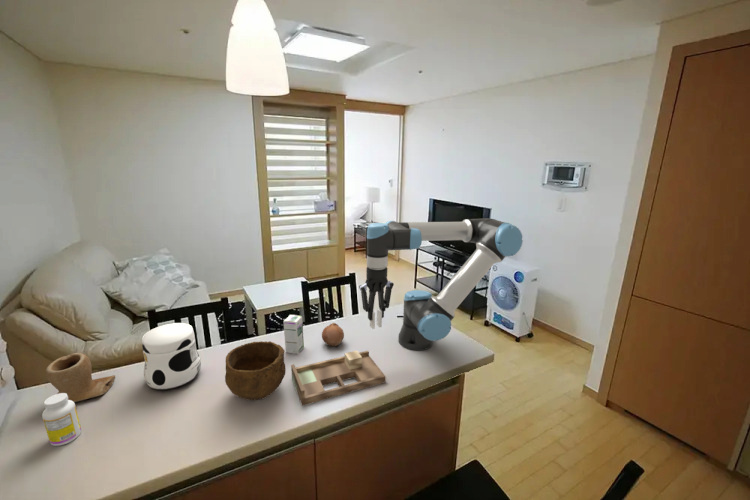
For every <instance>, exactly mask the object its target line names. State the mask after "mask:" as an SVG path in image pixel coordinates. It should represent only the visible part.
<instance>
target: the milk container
mask: <svg viewBox="0 0 750 500" xmlns="http://www.w3.org/2000/svg"><path fill="white" fill-rule="evenodd" d="M141 338H142V339H141V344H142V345H141V347H142V353H143V358H144V366H143V378H144V380H145V383H146V384H147V386H149V387H150V388H151V389H155V390H162V391H163V390H165V391H166V390H172V389H176V388H179V387H181V386H184V385H186V384H188V383H189V382H191V381H192V380H193V379H195V378H196V377H197V376H198V375H199V372H200V370H201V367H202V366H201V365H202V361H201V356H200V353H199V352H198V349H197V344H196V337H195V332H194V328H193V326H192V325H190V324H189V323H184V322H174V323H166V324H162V325H160V326H156V327H155V328H152V329H150V330H148V331H147V332H145V333H144V335H143V336H141Z"/></svg>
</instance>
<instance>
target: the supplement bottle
mask: <svg viewBox="0 0 750 500" xmlns="http://www.w3.org/2000/svg"><path fill="white" fill-rule="evenodd" d="M43 404H44V408H45V409H44V410H43V412H42V414H41V417H42V420H43V424H44V427H45V430H46V434H47V438H48V441H49V444H50V445H51V446H54V447H60V446H63V445H66V444H69V443H71V442H73V441H74V440H76V438H78V437H79V436H80V434H82V433H81V432H82V426H81V422H80V419H79V414H78V411H77V406H76V402H73V401H71V400H68V395H67V394H66V393H59V394H57V393H56V394H53V395H51V396H49V397H48V398H46V399H45V400H44V402H43Z"/></svg>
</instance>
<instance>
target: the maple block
mask: <svg viewBox="0 0 750 500" xmlns="http://www.w3.org/2000/svg"><path fill="white" fill-rule="evenodd" d="M359 353H360V352H359V351H358V350H352V351H349V352H345V353H344V356H345V364H346V366H347V367H348V369H349V370H351V369H355V368H359V367H362V356H361V355H360V354H359Z"/></svg>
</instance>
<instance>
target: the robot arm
mask: <svg viewBox="0 0 750 500" xmlns="http://www.w3.org/2000/svg"><path fill="white" fill-rule="evenodd" d="M424 241H425V242H429V241H433V242H434V241H435V242H436V241H437V242H438V241H463V242H464V243H473V244H475V246H476V249H475V250H474V252H473V253H472V254H471V255H470V256H469V258H467V260H466V261H465V262H464V263H463V264H462V266H461V267H460V268H459V270H458V271H457V272H456V273H455V274H454V275H453V276H452V277H451V278H450V280H449V281H448V282H447V283H446V285H445V286H444V287H443V288H442V290H440V292H439V294H437V295H436V296H433V294H432V292H430V291H427V290H423V289H422V290H421V289H420V290H419V289H415V290H410V291H406V293H404V297H403V314H402V317H403V318H402V326H401V328H400V330H399V333H398V340H397V341H398V343H399V344H400V345H401V346H402V347H403V348H405V349H407V350H412V351H425V350H428V349H430V348H431V347H432V346H433V344H434V341H440V340H442V339H444V338H446V337H447V336H448V335H449V334H450V332H451V331H452V321H453V319H454V318H455V317H456V316H455V315H456V314H455V311H456V310H457V309H458V307H460V305H461V304H462V302H463V301H465V299H466V298H467V296H468V295H469V294H470V293H471V292H472V290H473V289H474V288H475V287H476V286H477V285H478V283H480V281H481V280H482V278H484V276H485V275H486V274H487V273H488V272H489V270H490V269H491V268H492V267H493V266H494V265H495V264H497V263H502V262H503V261H504V259H506V257H511V256H512V257H513V256H515V255H516V254H517V253H519V251H520V250H521V249H522V248H521V247H522V245H523V241H524V240H523V234H522V231H521V230H520V228H519V227H517V226H516V225H514V224H512V223H509V222H505V221H500V220H497V219H496V218H495V219H494V218H487V217H486V218H471V219H470V218H467V219H466V218H465V219H463V220H462V221H421V222H419V221H418V222H416V221H415V222H414V221H412V222H411V221H410V222H405V221H404V222H402V221H401V222H399V221H394V220H388V221H387V222H385V223H383V222H374V223H372V222H371V223H369V224H368V225H367V231H366V269H365V270H366V271H365V272H366V279H365V283H364V284H361V285H359V286H358V289H359V291H360V293H361V303H362V309H363V311H365V312H366V313H367V319H368V320H369V327H370V328H371V329H372V330H374V329H375V327H376V326H377V327H378V328H382V327H383V326H382V325H383V324H382V322H383V321H382V319H383V318H384V317H385V311H386V309H389V307H390V303H391V302H390V301H391V297H392V290H393V287H394V282H393V281H391V280H388V262H389V261H388V260H389V259H388V258H389V257H388V256H389V251H402V250H403V251H404V250H405V251H406V250H407V251H411V250H417V249H420V248H421V245H422V243H423V242H424ZM367 290H368V293H367ZM376 294H377V298H378V308H376V312H375V310H374V307H375V300H376ZM375 322H376V323H375Z"/></svg>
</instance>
